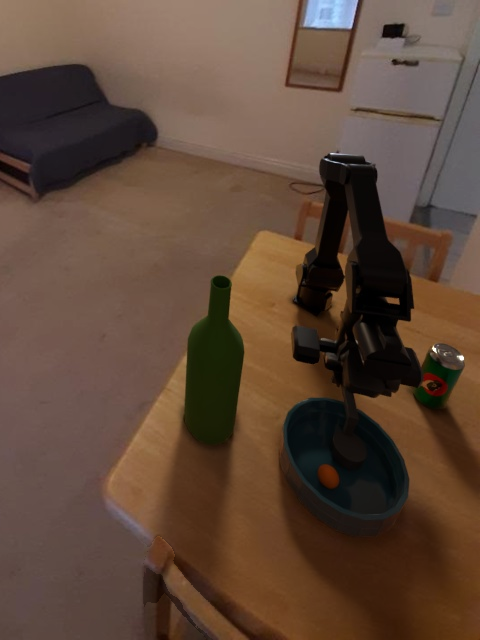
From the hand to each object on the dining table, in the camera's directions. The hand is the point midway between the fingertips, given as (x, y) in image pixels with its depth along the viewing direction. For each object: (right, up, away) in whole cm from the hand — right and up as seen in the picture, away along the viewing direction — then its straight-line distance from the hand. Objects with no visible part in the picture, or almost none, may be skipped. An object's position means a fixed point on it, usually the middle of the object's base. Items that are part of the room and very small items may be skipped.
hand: (342, 386), depth 71 cm
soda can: (+18, -4, +4) cm, 19 cm away
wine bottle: (-23, -7, +2) cm, 24 cm away
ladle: (-1, -5, -1) cm, 5 cm away
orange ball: (-7, -9, -9) cm, 14 cm away
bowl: (-5, -10, -6) cm, 13 cm away
